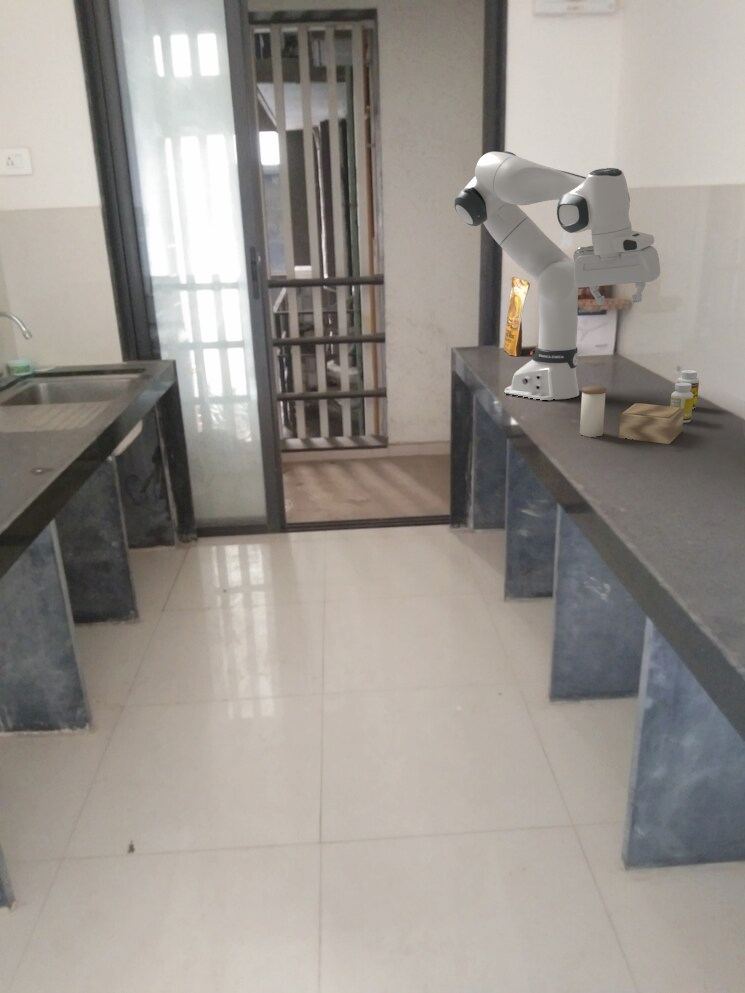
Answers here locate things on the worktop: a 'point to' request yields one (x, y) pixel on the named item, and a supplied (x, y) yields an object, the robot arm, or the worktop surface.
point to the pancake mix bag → (515, 316)
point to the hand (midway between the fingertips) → (618, 303)
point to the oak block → (651, 423)
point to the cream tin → (592, 410)
